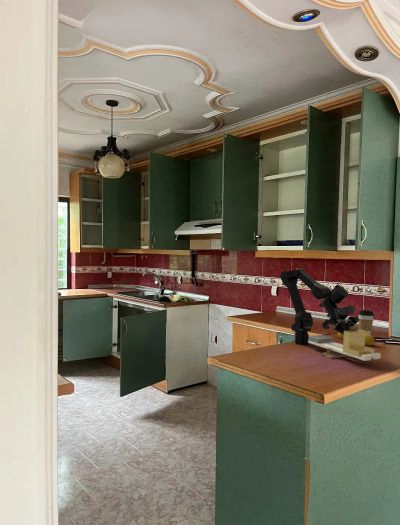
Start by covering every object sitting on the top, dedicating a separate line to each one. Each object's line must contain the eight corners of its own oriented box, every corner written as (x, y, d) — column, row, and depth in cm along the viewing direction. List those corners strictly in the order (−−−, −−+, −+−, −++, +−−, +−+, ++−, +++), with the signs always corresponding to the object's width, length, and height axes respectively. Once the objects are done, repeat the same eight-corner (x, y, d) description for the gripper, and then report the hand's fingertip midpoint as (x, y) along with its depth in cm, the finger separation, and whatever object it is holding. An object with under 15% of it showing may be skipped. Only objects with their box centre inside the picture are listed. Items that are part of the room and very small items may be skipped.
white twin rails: (308, 342, 184) (308, 336, 184) (323, 340, 189) (323, 334, 189) (364, 360, 156) (364, 353, 156) (380, 358, 161) (380, 351, 161)
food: (375, 346, 197) (376, 334, 197) (368, 347, 194) (369, 335, 193) (340, 337, 214) (340, 326, 214) (333, 338, 211) (334, 327, 211)
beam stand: (320, 355, 173) (320, 347, 173) (345, 352, 181) (345, 344, 181) (330, 358, 168) (331, 351, 168) (355, 355, 176) (356, 347, 176)
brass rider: (342, 353, 166) (344, 330, 166) (358, 350, 171) (359, 329, 171) (358, 358, 159) (359, 334, 159) (374, 355, 164) (375, 333, 164)
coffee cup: (356, 336, 217) (357, 310, 217) (357, 333, 225) (358, 308, 224) (372, 338, 213) (373, 311, 213) (373, 335, 221) (374, 310, 220)
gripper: (328, 299, 168) (347, 329, 159) (357, 298, 177) (377, 327, 168) (314, 314, 175) (331, 344, 166) (342, 312, 184) (360, 340, 175)
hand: (350, 338), depth 169 cm, fingers closed
